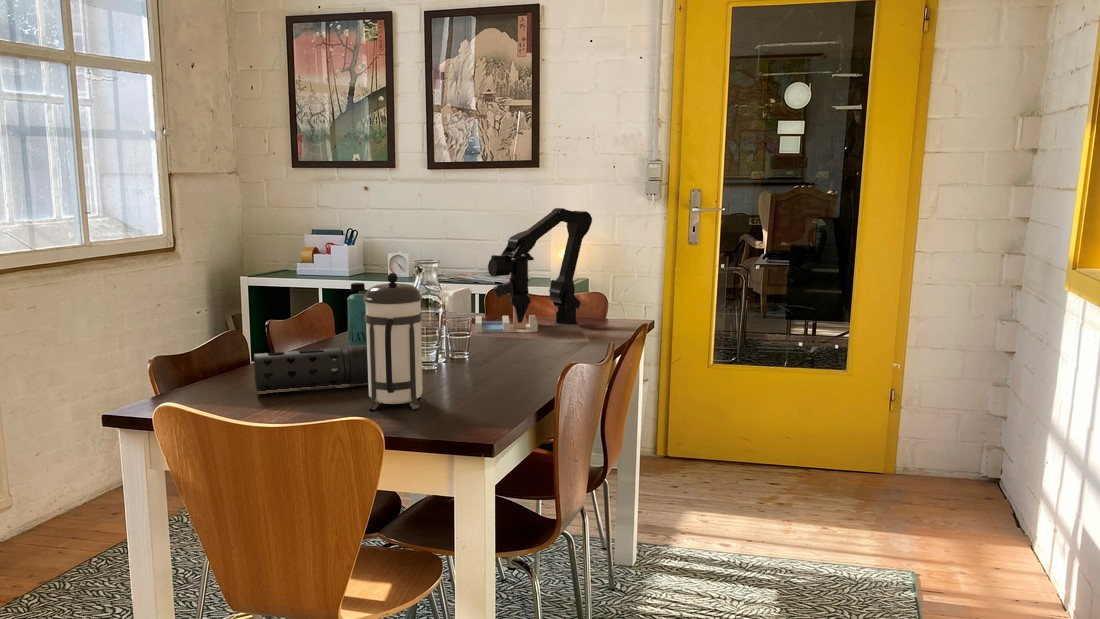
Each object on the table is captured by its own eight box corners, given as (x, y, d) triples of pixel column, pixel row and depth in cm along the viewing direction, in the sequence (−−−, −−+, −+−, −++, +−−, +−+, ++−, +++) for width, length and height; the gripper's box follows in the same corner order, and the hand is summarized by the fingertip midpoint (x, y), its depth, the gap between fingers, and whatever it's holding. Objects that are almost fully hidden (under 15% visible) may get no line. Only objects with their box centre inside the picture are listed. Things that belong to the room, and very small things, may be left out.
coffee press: (345, 405, 194) (340, 273, 189) (404, 392, 205) (400, 267, 200) (389, 420, 182) (384, 280, 177) (449, 406, 193) (446, 274, 188)
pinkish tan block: (525, 326, 286) (525, 299, 284) (526, 328, 282) (525, 301, 280) (513, 326, 285) (513, 299, 284) (513, 328, 281) (513, 301, 280)
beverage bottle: (344, 352, 251) (341, 284, 248) (354, 347, 257) (352, 281, 254) (364, 353, 249) (362, 284, 246) (374, 348, 256) (372, 281, 252)
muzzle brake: (255, 391, 207) (253, 349, 206) (372, 381, 217) (370, 341, 215) (256, 400, 198) (254, 357, 197) (378, 389, 208) (377, 348, 206)
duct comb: (534, 326, 291) (534, 315, 290) (537, 334, 277) (537, 322, 277) (475, 327, 289) (475, 315, 289) (475, 335, 276) (475, 323, 275)
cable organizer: (446, 316, 311) (445, 285, 309) (472, 318, 308) (472, 286, 306) (426, 323, 297) (426, 290, 295) (454, 325, 294) (453, 292, 292)
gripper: (494, 271, 289) (494, 317, 292) (495, 278, 271) (495, 327, 273) (527, 271, 290) (527, 316, 293) (530, 277, 272) (530, 326, 274)
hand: (519, 321), depth 283 cm, fingers closed on pinkish tan block, 4 cm apart
